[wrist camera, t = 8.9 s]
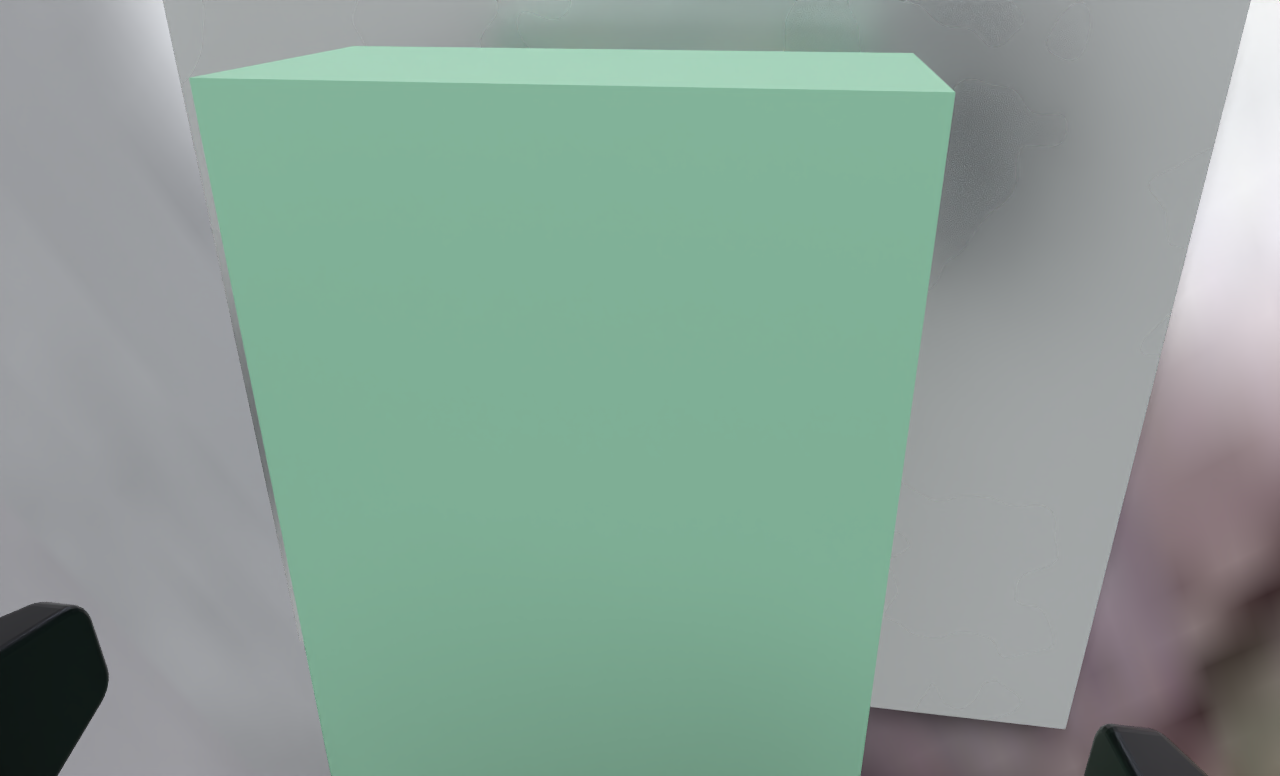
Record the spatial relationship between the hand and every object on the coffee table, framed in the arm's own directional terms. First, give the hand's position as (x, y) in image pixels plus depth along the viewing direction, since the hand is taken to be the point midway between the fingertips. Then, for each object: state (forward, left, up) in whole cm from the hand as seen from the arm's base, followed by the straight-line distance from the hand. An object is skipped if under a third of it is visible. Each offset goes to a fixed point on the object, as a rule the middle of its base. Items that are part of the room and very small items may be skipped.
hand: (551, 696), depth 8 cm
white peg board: (0, 0, -8) cm, 8 cm away
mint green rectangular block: (0, 0, -4) cm, 4 cm away
